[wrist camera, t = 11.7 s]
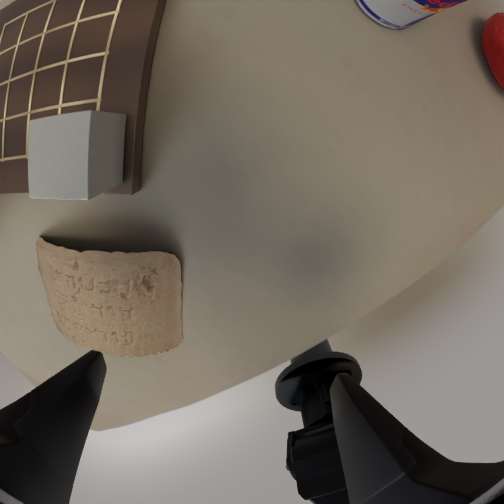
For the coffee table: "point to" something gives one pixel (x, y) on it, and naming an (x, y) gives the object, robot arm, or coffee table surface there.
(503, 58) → the hollow red tomato
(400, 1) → the energy drink
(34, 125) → the gray cube
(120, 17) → the grid board
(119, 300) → the clay tablet
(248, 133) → the coffee table surface
